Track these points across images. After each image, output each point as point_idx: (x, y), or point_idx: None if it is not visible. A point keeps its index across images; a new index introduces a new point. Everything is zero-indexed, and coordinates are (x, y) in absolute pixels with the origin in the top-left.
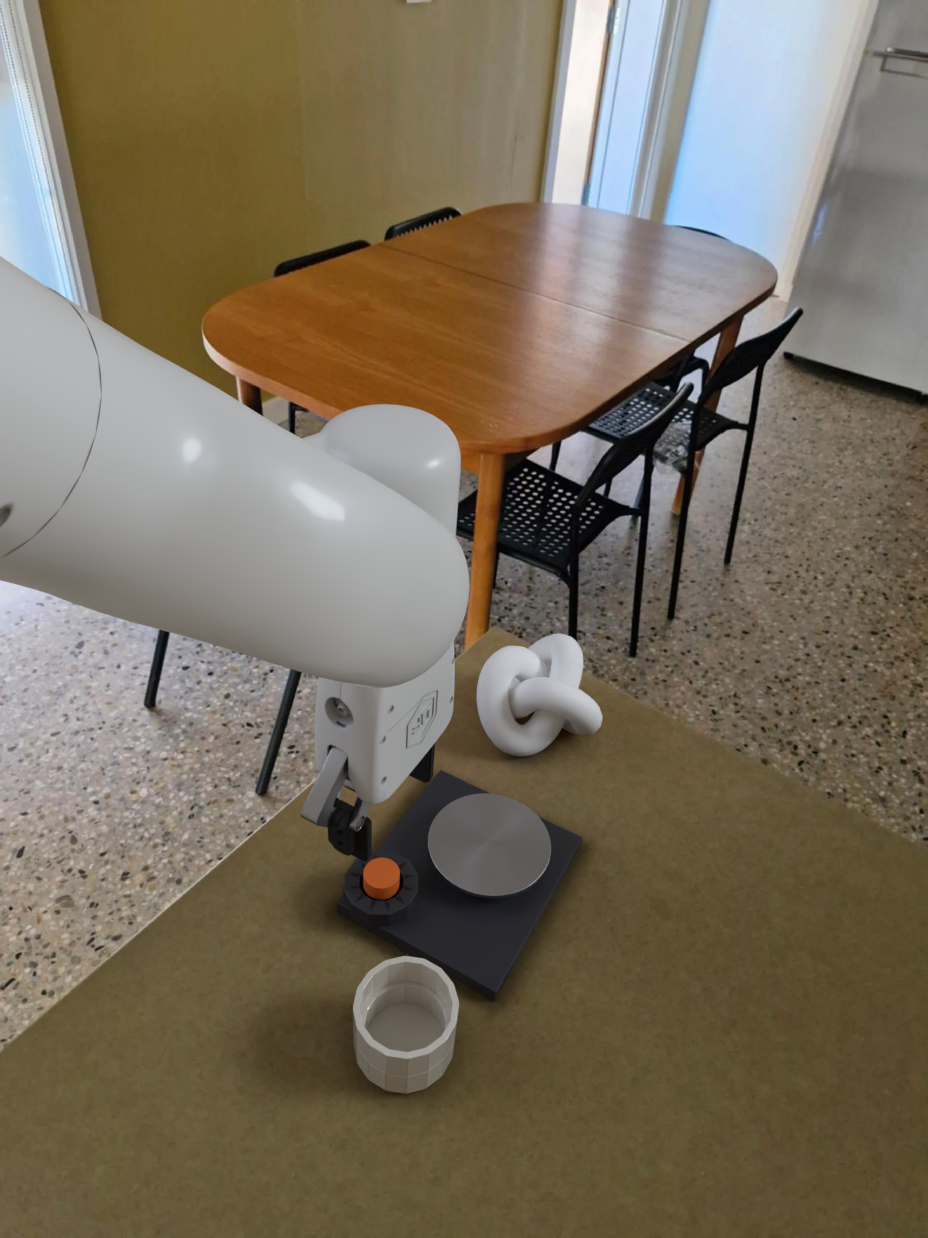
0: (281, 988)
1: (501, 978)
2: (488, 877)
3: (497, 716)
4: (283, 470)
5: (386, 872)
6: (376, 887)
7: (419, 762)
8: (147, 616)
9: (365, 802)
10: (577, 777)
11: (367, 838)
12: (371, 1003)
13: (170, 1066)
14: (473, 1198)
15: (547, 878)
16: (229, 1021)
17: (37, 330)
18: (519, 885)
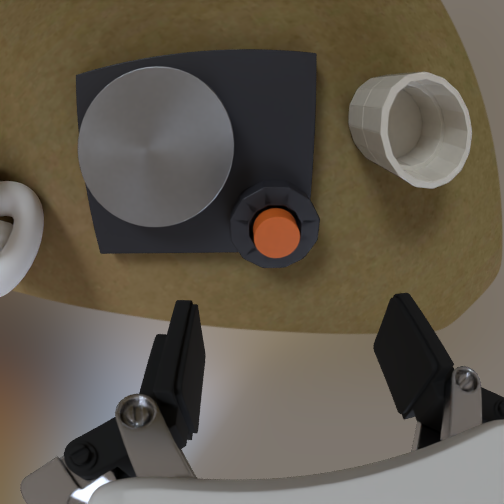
0: (383, 240)
1: (298, 53)
2: (198, 119)
3: (19, 247)
4: None
5: (273, 233)
6: (299, 232)
7: (193, 356)
8: None
9: (470, 421)
10: (23, 135)
11: (435, 336)
12: (406, 166)
13: (443, 267)
14: (448, 38)
15: None
16: (414, 256)
17: None
18: (186, 80)
